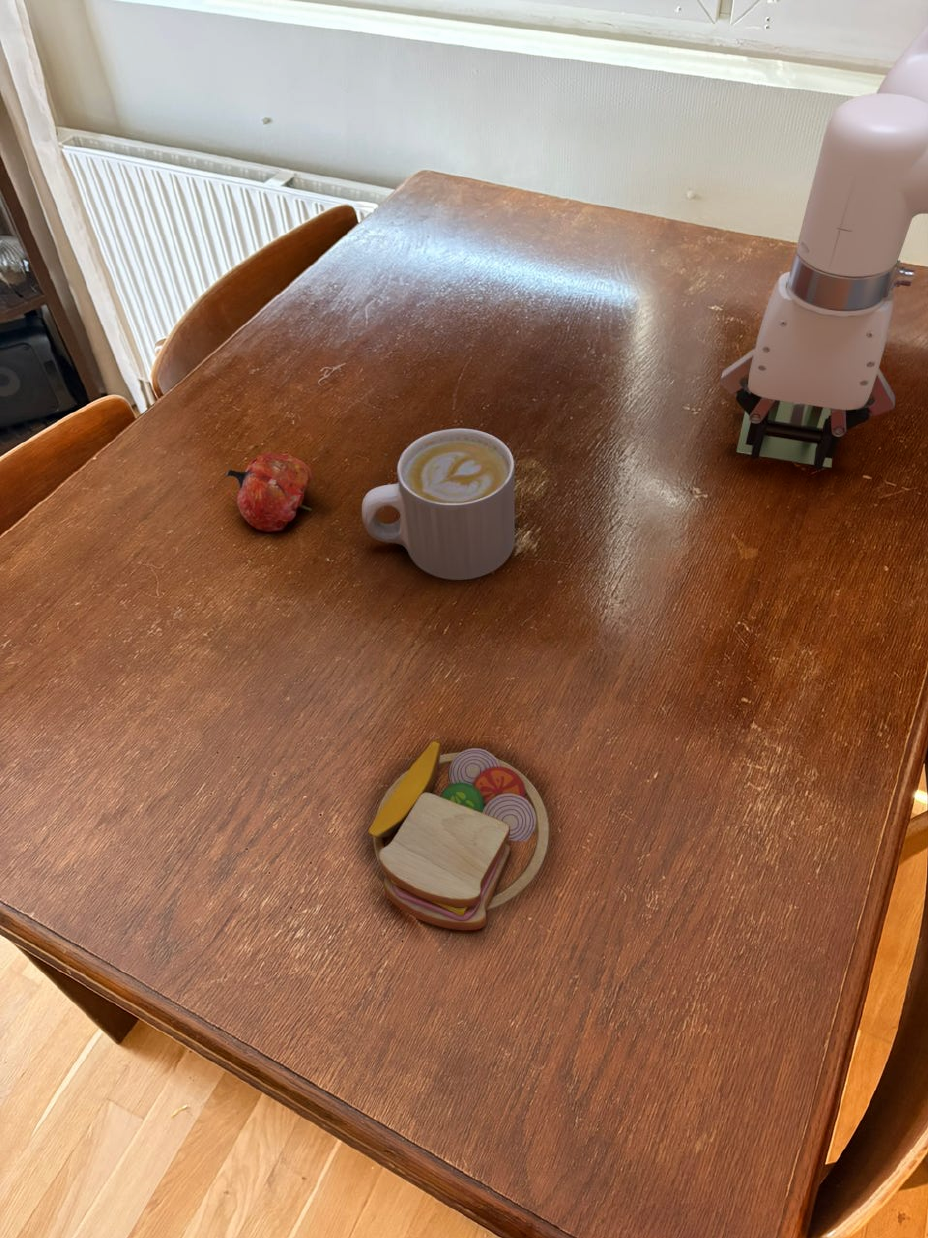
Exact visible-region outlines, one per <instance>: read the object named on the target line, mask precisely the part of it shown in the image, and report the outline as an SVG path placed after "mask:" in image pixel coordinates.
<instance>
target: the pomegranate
mask: <svg viewBox="0 0 928 1238" xmlns="http://www.w3.org/2000/svg"><path fill="white" fill-rule="evenodd" d="M229 476H230V477H234V478H236V480H237V482H238V486H239V487H238V492H237V496H236V505H237V508H238V510H239V512H240V514H241V516H242V517H243V519H244V520H245V521H246V522H247V524H249V525H250V526H252V527H253V528H254V529H256V530H258V531H262V532H266V533H271V532H280V531H282V530H284V529H285V527H287V526H288V523H290V522H292V521H293V520H294V519H295V517H296V514H297V511H298V508H300V509H302V510H304V511H308V512H309V511H310V512H311V511H312V508H310V507H307V506H306V505H304V504H303V502H304V499H305V493H306V490H307V488H308V486H309V484H310V482H311V481H312V479H313V473H312V471H311V468H310V467H309V466H308V465H307V464H306V463H305V462H303V461H302V460H300V459H299V458H296V457H295V456H292V455H290V454H287V453H266V454H262V455H259V456H256V457H255V458H254V459H253V460H251V461H250V463H249V464H248V465H247V467H246V470H245V471H238V470H232V468H229V470H228V471H227V473H226V475H225V476H224V478H227V477H229Z"/></svg>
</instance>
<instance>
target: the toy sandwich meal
mask: <svg viewBox="0 0 928 1238" xmlns="http://www.w3.org/2000/svg"><path fill="white" fill-rule="evenodd" d="M441 748H442V747H441V744H440V743H439V742H437V741H434V740H433V741H432V742H430V743H429V745H428V746H427V747H426V748H425V750H423V752H422V754H421V755H420V756H419V757H418V758H417V759H416V760H415V761H414V762H413V763H412V765H411V766H410V768H409V769H408V770H406V771H405V772H404V773H403V774H401V775H400V776H399V777H398V778H397V779H396V780H395V781H394V782H393V784H392V785H390V787H389V788H388V790H387V791H386V792H385V794H384V796H383V797H382V799H381V801H380V803H379V805H378V808H377V811H376V813H375V818H374V819H373V821H372V823H371V825H370V827H369V828H368V834H369V835H370V836H372V837H373V838H372V839H373V841H372V842H373V849H374V853H375V857H376V860H377V863H378V864H379V867H380V869H381V872H382V873H383V875H384V878H383V882H382V883H383V891H384V893H385V896H386V898H388V899H389V900H390V901H391V903H393V904H394V905H395V906H396V907H397V908H399V909H400V910H402V911H403V912H405V913H406V914H408V915H409V916H412V918H413V917H414V919H415V918H416V919H418V920H420V921H423V922H425V923H428V924H430V925H434V926H437V927H440V928H444V929H451V930H457V931H458V930H459V931H477V930H481V929H483V928H484V927H485V926H486V925H487V911H489V910H492V909H495V908H497V907H499V906H501V905H504V904H505V903H507V902H509V901H510V900H512V899H514V898H515V897H516V896H517V895H519V894H520V893H521V892H522V891H524V890H525V888H526V887H527V886H528V885H529V884H530V883H531V882H532V881H533V879H535V877H536V875H537V874H538V873H539V870H540V868H541V867H542V864H543V862H544V860H545V857H546V854H547V851H548V846H549V839H550V823H549V818H548V813H547V810H546V806H545V803H544V802H543V799H542V797H541V795H540V794H539V792H538V790H537V789H536V787H535V786H534V784H532V782H531V781H530V780H529V779H528V778H527V777H526V775H524V774H523V773H522V772H521V771H519V770H518V769H517V768H515V767H514V766H512V765H510V764H509V763H507V762H505V761H503V760H501V759H498V758H496V757H495V756H494V755H493V754H492V753H491V752H490V751H488V750H486V749H482V748H476V747H471V748H468V749H465V750H463V751H461V752H451V753H444V754H441V750H442V749H441ZM447 764H450V765H449V768H448V780H449V784H450V785H448V786H447V787H445V788H444V789H443V790H442V792H440V794H439V795H437V794H434V793H433V791H434V789H435V787H436V783H437V778H438V772H439V766H443V765H447ZM526 797H527V799H526ZM535 831H537V834H536V842H535V847H534V851H533V853H532V857H531V858H530V860H529V862H528V864H527V866H526V867H525V869H524V870H523V872H522V873H521V874H520V875H519V877H518V878H516V879H515V881H513V882H512V883H511V884H510V885H508V886H507V887H506V888H504V889H502V890H501V891H499V892H497V890H498V887H499V884H500V883H501V880H502V878H503V875H504V874H505V873H504V872H505V870H506V868H507V866H508V863H509V860H510V858H511V854H512V847H511V846H510V845H509V844H508V843H507V842H508V841H514V842H518V843H519V842H520V843H523V842H527V841H528V840H529V839H530V838H531V837H532V836H533V835H534V833H535ZM396 832H397V833H396ZM395 833H396V834H395ZM394 834H395V835H394ZM393 835H394V837H393V839H392V840H391V841H390V843H388V844H387V845H386V840H385V838H389V837H391V836H393ZM496 892H497V893H496ZM495 893H496V894H495Z"/></svg>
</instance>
